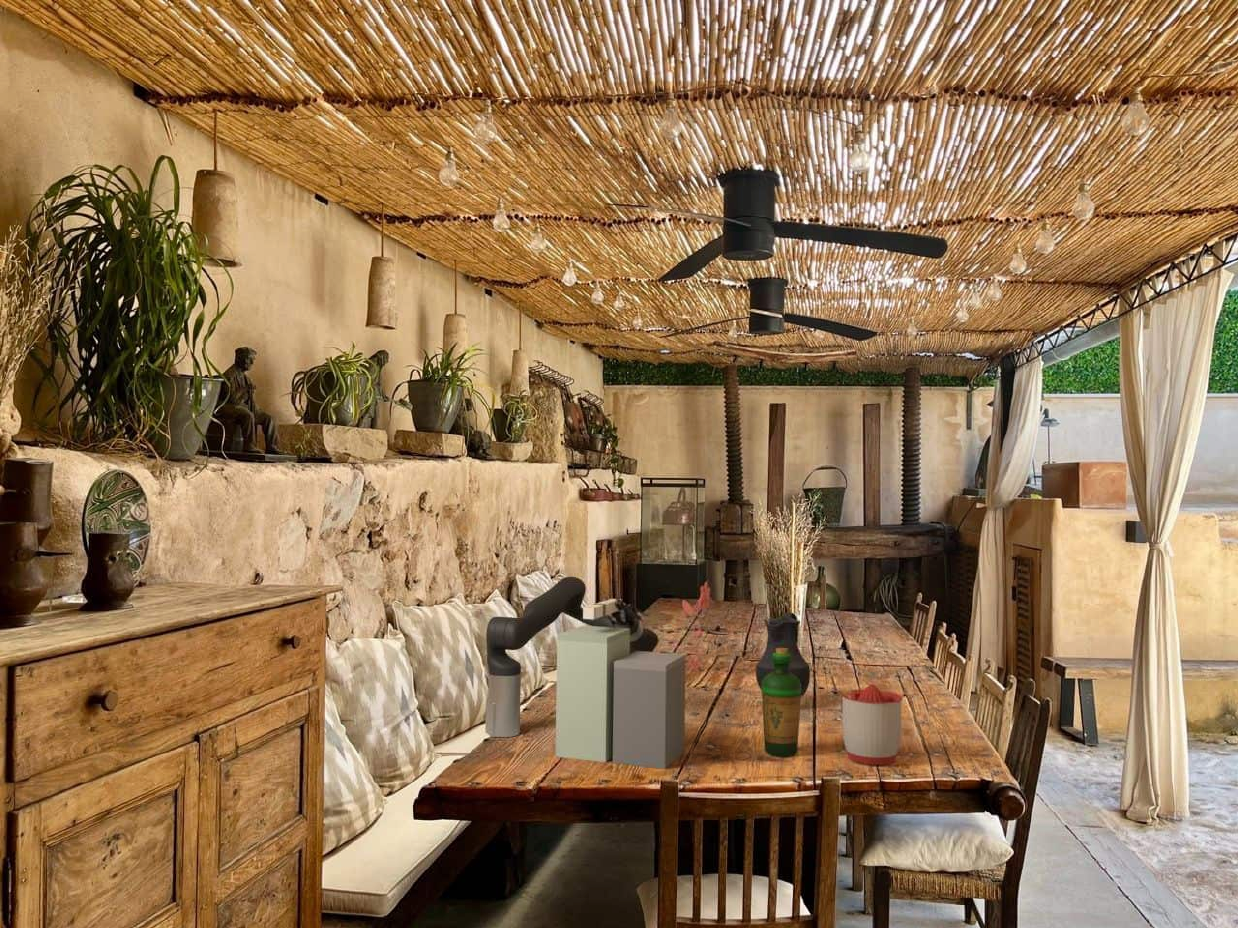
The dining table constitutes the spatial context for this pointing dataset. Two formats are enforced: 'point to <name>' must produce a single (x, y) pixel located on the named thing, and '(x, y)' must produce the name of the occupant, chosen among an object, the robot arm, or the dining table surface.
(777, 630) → the pitcher
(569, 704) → the sage green tall pillar
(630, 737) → the block
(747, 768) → the dining table surface
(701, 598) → the pink translucent sprig
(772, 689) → the bottle
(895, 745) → the citrus juicer
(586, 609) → the pale wooden bar
